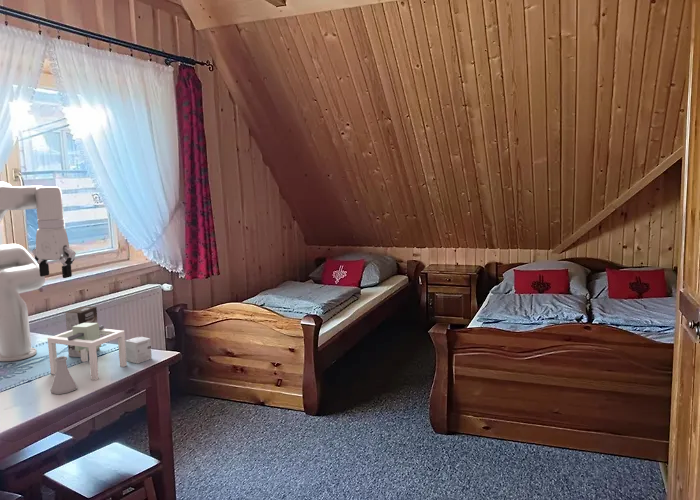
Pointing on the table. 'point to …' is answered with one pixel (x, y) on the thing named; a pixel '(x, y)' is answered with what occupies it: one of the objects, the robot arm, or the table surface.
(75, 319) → the coffee box
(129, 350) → the skincare box
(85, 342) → the white square frame
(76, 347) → the slotted cream block
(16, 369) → the table surface
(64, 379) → the flask
